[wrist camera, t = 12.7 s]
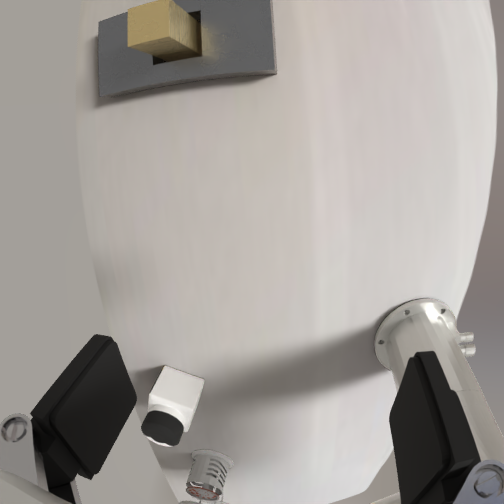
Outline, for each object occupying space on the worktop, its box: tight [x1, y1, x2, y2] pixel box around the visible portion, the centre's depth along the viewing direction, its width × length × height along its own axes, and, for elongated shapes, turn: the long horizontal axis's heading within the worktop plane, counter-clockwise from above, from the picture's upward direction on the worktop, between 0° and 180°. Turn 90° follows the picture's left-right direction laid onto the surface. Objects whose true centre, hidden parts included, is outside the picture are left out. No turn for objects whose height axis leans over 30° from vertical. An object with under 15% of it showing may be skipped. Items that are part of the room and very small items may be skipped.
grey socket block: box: [98, 0, 277, 97], centre depth 28 cm, size 20×10×3 cm, turn 93°
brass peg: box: [128, 0, 202, 62], centre depth 25 cm, size 4×4×10 cm
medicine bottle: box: [141, 366, 205, 447], centre depth 45 cm, size 7×7×12 cm
